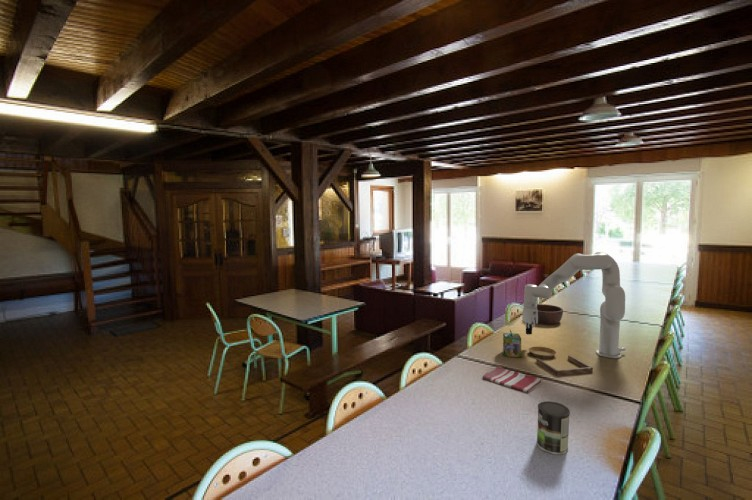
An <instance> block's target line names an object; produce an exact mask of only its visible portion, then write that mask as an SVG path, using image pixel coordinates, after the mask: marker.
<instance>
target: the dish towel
mask: <svg viewBox="0 0 752 500" xmlns="http://www.w3.org/2000/svg"><path fill="white" fill-rule="evenodd" d="M482 379H483V380H485V381H488V382H492V383H495V384H497V385H501V386H504V387H508V388H509V389H512V390H516V391H519V392H523V393H525V394H530V393H531V392H532V391H534V390H535V389H536V388H538V387H539V386H540V385H541V384H542V383H543V382H542V379H541V378H540V377H536V376H532V375H529V374H523V373H520V372H517V371H513V370H510V369H506V368H503V366H497V367H496V368H495V369H493V370H491V371H489V372H486V373H485V374H484V375H482Z"/></svg>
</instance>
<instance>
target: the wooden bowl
mask: <svg viewBox="0 0 752 500" xmlns="http://www.w3.org/2000/svg"><path fill="white" fill-rule="evenodd" d="M537 310H538V324H540V325H557V324H559V323H560V322H561V321H562V318H563V315H564V314H563V313H564V309H563V308H562V307H560V306H557V305H553V304H552V305H551V304H543V303H537Z"/></svg>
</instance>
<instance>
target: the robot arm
mask: <svg viewBox="0 0 752 500" xmlns="http://www.w3.org/2000/svg"><path fill="white" fill-rule="evenodd" d="M595 270H601V275H602V276H601V277H602V283H601V284H602V286H601V293H602V295H603V296H604V299H605V300H604V301H603V302H602V303H601V304H600V307H599V313H600V314H599V317H600V323H599V325H600V327H599V347H598V349H596V350H595V353H596V354H597V355H598V356H600V357H603V358H608V359H620V358H621V357H622V353H621V352H626V348H625V347H620V346H619V344H620V325H621V324H620V323H621V320H623V318H624V317H625V314H626V291H625V290H624V288H623V287H622V286H621V278H620V277H621V273H620V267H619V265H618V263H617V262H616V260H615V259H614V258H613V257H612V256H611V255H610V254H608V253H606V252H603V251H596V252H595V253H593V254H583V253H574V254H573V255H572V256H571V257H569V258H568V259H567V260H566V261H565V262H564V263H563V264H562V265H560V267H559V268H557V269H556V270H555V271H554V272H552V273H551V274H550V275H548V276H547V277H546V278H545V279H544V280H543V281H542V282H541V283H540V284H538V285H536V284H532V283H527V284H525V285H524V290H523V292H524V294H523V307H522V308H523V309H522V316H521V317H522V321H523V323H524V324H525V334H526V335H532V334H533V328H536V325H538V324H539V323H538V310H537V304H538V298H540V299H545V300H547V299H549V298H551V297H552V295H553V290H554V289H555V288H557V286H559V285H560V284H562V283H564V282H567V281H569V280H571V279H572V278H573V277H574V276H575V275H576V274H577V273H579V271H595Z"/></svg>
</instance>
